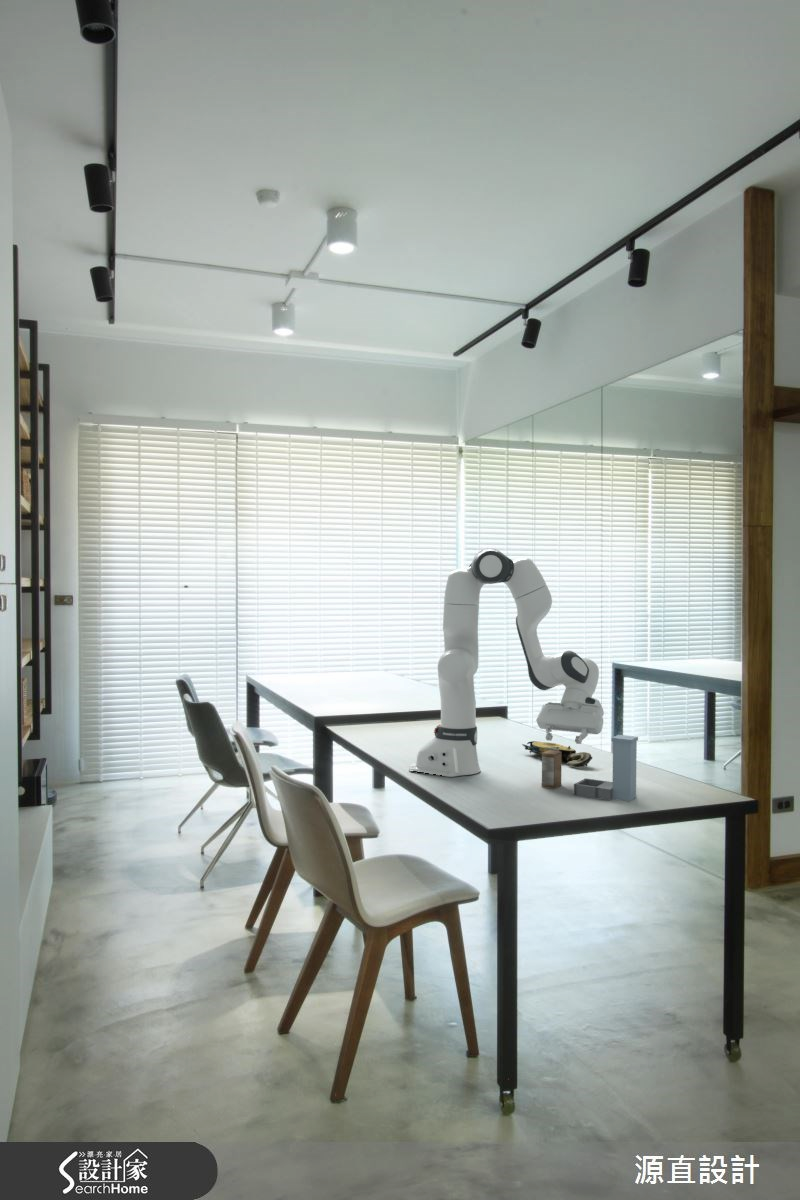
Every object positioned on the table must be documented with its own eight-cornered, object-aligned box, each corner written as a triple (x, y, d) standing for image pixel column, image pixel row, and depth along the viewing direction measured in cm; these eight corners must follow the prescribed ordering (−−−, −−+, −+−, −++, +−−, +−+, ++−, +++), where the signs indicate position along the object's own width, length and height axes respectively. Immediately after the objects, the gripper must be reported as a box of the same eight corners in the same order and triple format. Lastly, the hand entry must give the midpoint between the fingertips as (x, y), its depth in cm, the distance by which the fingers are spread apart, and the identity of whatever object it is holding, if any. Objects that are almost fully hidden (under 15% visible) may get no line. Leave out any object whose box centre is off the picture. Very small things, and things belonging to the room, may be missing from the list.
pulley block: (568, 751, 267) (521, 735, 295) (566, 769, 267) (518, 751, 295) (605, 754, 272) (555, 739, 300) (603, 772, 272) (553, 755, 300)
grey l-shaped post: (573, 794, 238) (574, 734, 237) (585, 788, 245) (585, 730, 244) (629, 803, 229) (629, 740, 228) (639, 796, 236) (639, 735, 236)
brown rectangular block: (541, 787, 246) (541, 753, 246) (548, 783, 251) (548, 750, 251) (553, 789, 244) (554, 754, 244) (561, 785, 249) (561, 751, 248)
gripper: (541, 695, 266) (528, 731, 258) (604, 700, 255) (592, 738, 247) (546, 708, 270) (534, 743, 262) (609, 713, 258) (597, 750, 250)
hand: (562, 741), depth 254 cm, fingers open, 8 cm apart
